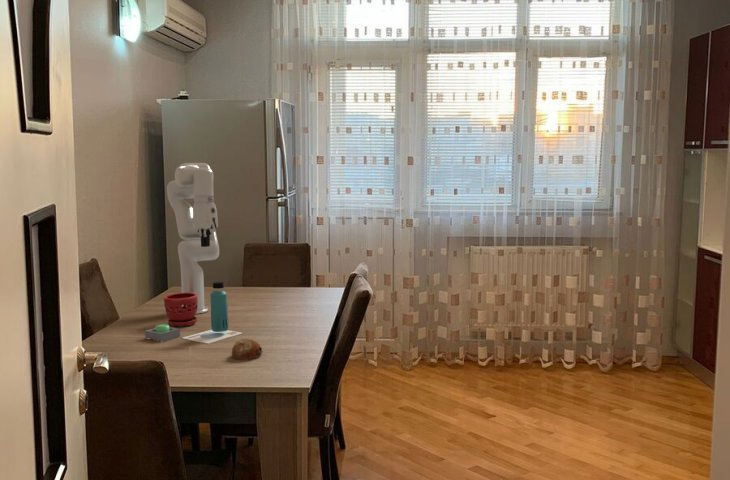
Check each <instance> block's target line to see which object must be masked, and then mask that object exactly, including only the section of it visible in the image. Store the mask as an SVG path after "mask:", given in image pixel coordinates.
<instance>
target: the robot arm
mask: <svg viewBox="0 0 730 480" xmlns="http://www.w3.org/2000/svg"><path fill="white" fill-rule="evenodd" d="M214 179H215V177H214V171H213V170H212V169H211V167H210V165H209V164H208V163H206V162H184V163H182V164H180V165H179V166H177V168H176V169H175V171H174V180H171V181H169V182H168V183H167V186H166V196H167V199H168V202H169V204H170V206H171V208H172V210H173V212H174V215H175V220H176V227H177V233H178V235H179V238H181V239H182V241H180V242H179V243H178V245H177V253H178V259H179V264H180V266H179V267H180V285H181V293H195V294H197V299H198V306H197V312H196V315H198V314H203V313H206V312H208V311H209V307H208V306H206V305H205V285H204V270H203V268H202V266H200V265H199V263H198V262H203V261H215V260H217V259H218V258H219V256H220V245H219V241H218V236H217V230H216V229H217V228H218V227H219V218H218V209H217V207H216V203H215V197H214V193H215V192H214ZM185 199H193V201H194V202H193V206H192V205H191V204H190V203H189V202H188V201H187V200H185ZM183 306H184V305H182V307H183ZM186 307H187V306H186Z"/></svg>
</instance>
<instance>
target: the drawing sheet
mask: <svg viewBox="0 0 730 480" xmlns="http://www.w3.org/2000/svg"><path fill="white" fill-rule="evenodd" d="M242 334H244V332H240V331H234V330H229V329H228V330H227V331H224V332H214V331H212V329H208V330H205V331H202V332H201V331H200V332H198V333H195V334H190V335H187V336H183V337H181V339H182V340H186V339H187V341H192V342H197V343H202V344H207V345H208V344H213V343H216V342H219V341H222V340H226V339H229V338H233V337H236V336H239V335H242Z"/></svg>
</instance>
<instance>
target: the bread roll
mask: <svg viewBox="0 0 730 480" xmlns="http://www.w3.org/2000/svg"><path fill="white" fill-rule="evenodd" d="M262 353H263V348H262V346H261V344H260V343H259V342H257V340H253V339H251V338H240V339H239V340H237V341H236V342H235V344H234V345H233V347H232V349H231V356H232V358H233V359H234V360H239V361H247V360H255V359H257V358H258V359H259V358H260V357H261V355H262Z"/></svg>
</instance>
